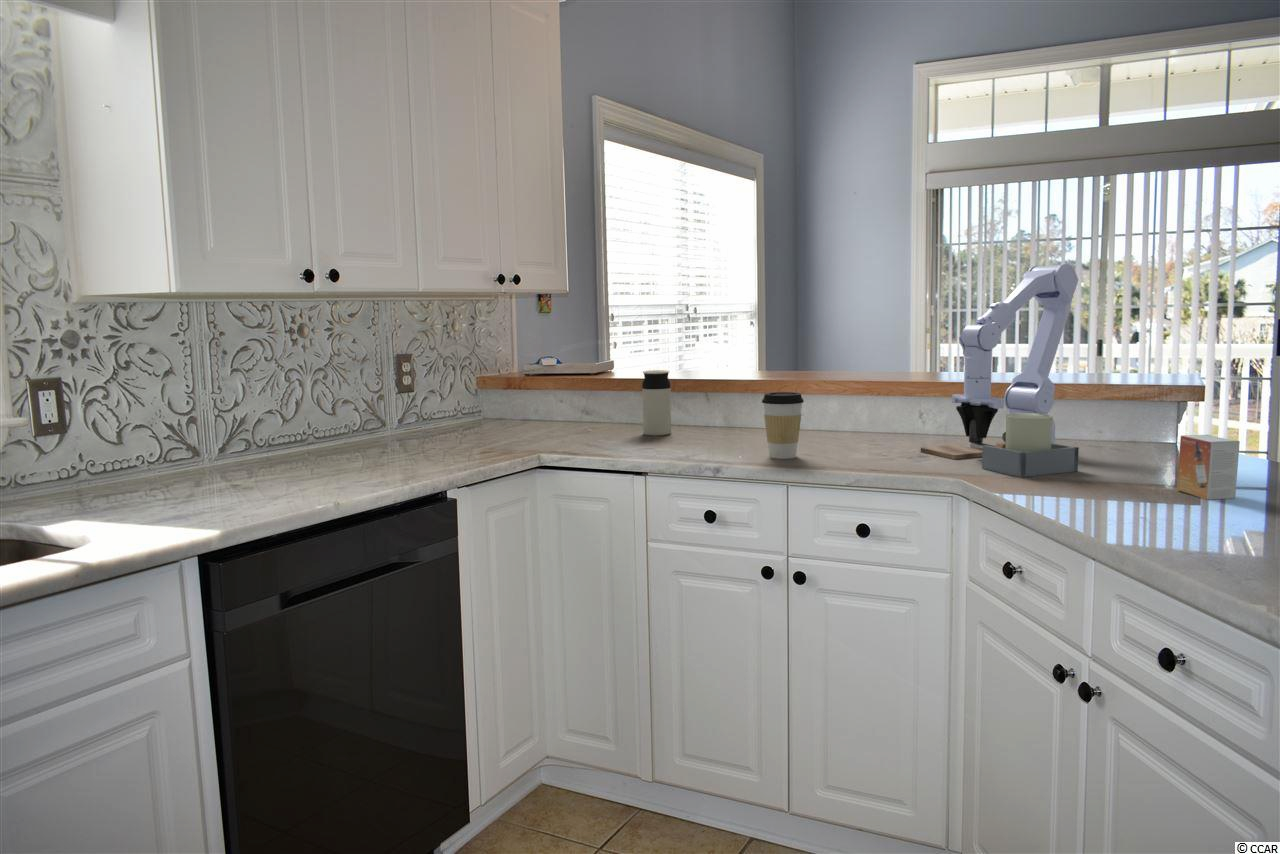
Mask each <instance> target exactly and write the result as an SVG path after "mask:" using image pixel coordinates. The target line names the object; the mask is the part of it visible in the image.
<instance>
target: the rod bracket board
mask: <svg viewBox="0 0 1280 854" xmlns="http://www.w3.org/2000/svg"><path fill="white" fill-rule="evenodd" d="M920 452H921V453H923V454H924V453H925V454H928V455H934V456H937V457H942V458H947V459H951V460H960V459H961V460H962V459H973V458H982V450H979V449H974V448H971V447H970V446H969V447H968V446H963V445H958V444H947V445H946V444H945V445H936V446H935V445H934V446H927V447H920Z"/></svg>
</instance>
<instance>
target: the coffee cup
mask: <svg viewBox="0 0 1280 854" xmlns="http://www.w3.org/2000/svg"><path fill="white" fill-rule="evenodd" d="M804 402H805V400H804V398H803V397H802V394H801V393H800V392H796V391H795V392H794V391H793V392H792V391H791V392H790V391H780V392H779V391H778V392H776V391H773V392H766V393H764V395H763V398H762V399H761V403H762V404H763V411H764V414H763V416H764V417H763V418H764V424H765V433H766V440H767V444H768V452H769V458H772V459H777V460H778V459H780V460H782V459H783V460H786V459H795V458H796V457H797V451H798V450H797V449H798V443H799V437H800V429H801V421H802V406H803V403H804Z"/></svg>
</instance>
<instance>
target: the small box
mask: <svg viewBox="0 0 1280 854" xmlns="http://www.w3.org/2000/svg"><path fill="white" fill-rule="evenodd" d="M1178 453H1179V455H1178V456H1179V457H1178V470H1177V480H1176V491H1179V492H1183V493H1186V494H1188V495H1191V496H1195V497H1198V498H1201V499H1204V500H1206V501H1209V500H1229V499H1230V500H1232V499H1236V492H1237V491H1236V490H1237V479H1238V467H1239V454H1240V441H1239V440H1238V439H1229V438H1224V437H1219V436H1214V435H1210V434H1186V435H1183V434H1182V435H1180V441H1179V452H1178Z"/></svg>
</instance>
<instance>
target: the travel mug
mask: <svg viewBox="0 0 1280 854" xmlns="http://www.w3.org/2000/svg"><path fill="white" fill-rule="evenodd" d="M669 373H670V370H665V369H663V370H662V369H657V370H656V369H654V370H652V369H651V370H649V369H648V370H644V371H643V372H642V374H643V377H644V378H643V381H642V383H641V386H642V387H641V388H642V389H641V390H642V424H643V425H642V427H643V428H642V432H643V434H644V435H646V436H653V437H658V436H659V437H660V436H661V437H663V436H668V435H670V434H672V401H671V399H672V397H671V396H672V395H671V381H670V379H669Z"/></svg>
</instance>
